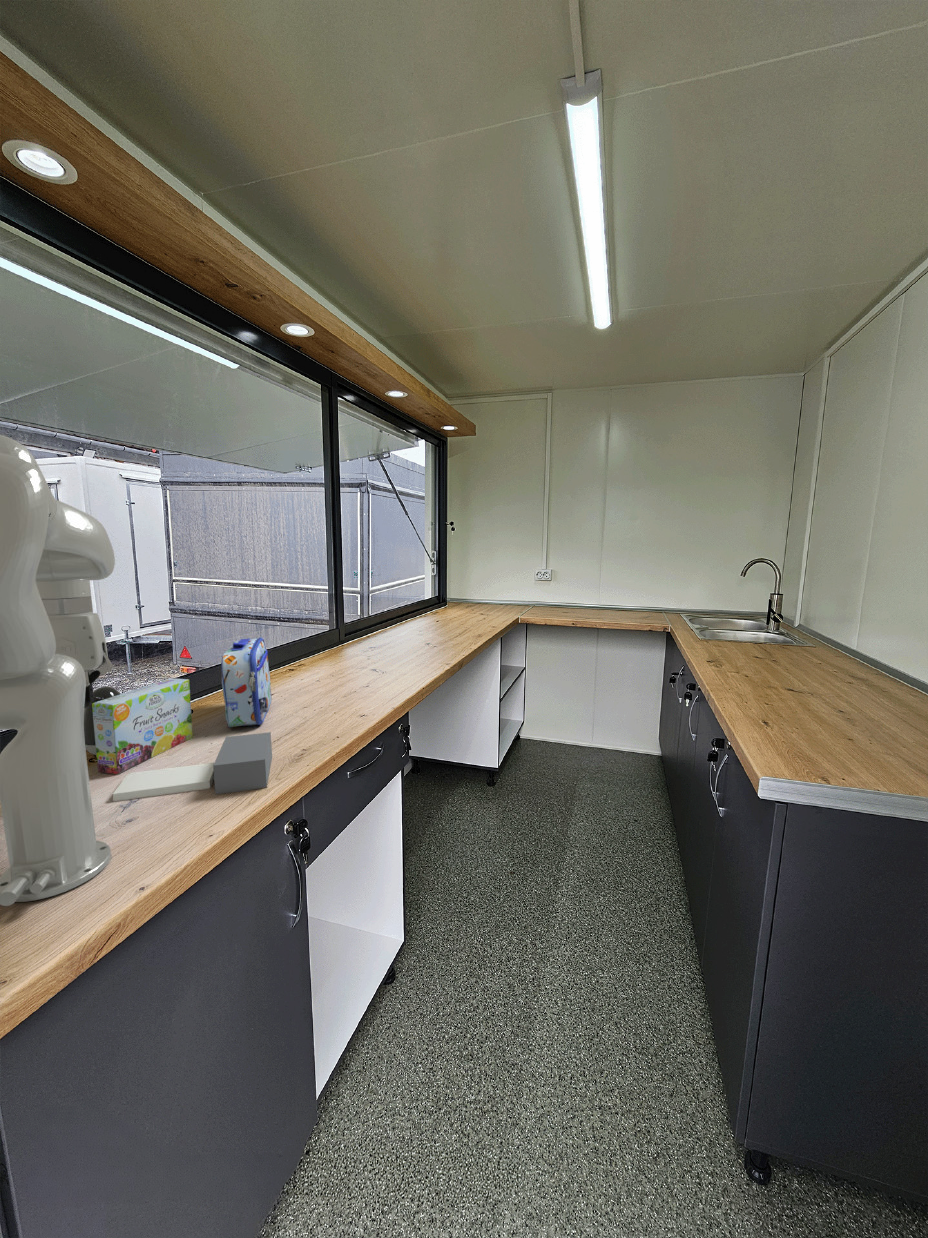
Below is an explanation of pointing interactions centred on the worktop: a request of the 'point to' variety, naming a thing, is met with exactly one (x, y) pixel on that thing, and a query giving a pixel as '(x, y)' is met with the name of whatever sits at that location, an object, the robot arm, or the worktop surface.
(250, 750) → the gray block
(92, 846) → the robot arm
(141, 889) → the worktop surface
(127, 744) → the snack box
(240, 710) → the lunch box
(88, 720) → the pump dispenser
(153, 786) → the cutting board
